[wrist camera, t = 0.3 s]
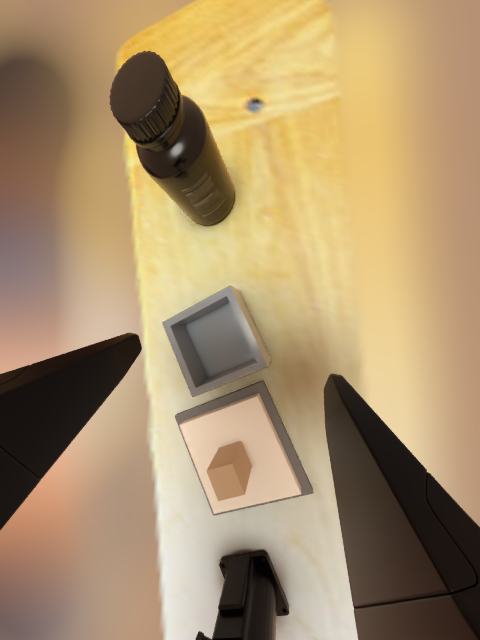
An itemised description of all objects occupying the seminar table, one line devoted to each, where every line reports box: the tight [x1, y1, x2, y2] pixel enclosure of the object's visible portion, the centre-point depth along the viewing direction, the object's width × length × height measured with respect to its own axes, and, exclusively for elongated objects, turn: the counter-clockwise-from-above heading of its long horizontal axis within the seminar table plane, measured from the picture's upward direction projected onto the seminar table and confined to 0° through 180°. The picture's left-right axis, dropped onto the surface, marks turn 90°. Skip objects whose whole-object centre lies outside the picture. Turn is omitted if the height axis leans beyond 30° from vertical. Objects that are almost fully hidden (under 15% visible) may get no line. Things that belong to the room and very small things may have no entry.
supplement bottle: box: [110, 51, 234, 225], centre depth 18 cm, size 7×7×12 cm
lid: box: [179, 393, 301, 514], centre depth 20 cm, size 11×11×4 cm
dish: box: [162, 286, 271, 397], centre depth 21 cm, size 9×9×4 cm
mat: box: [175, 381, 313, 516], centre depth 23 cm, size 13×13×1 cm
